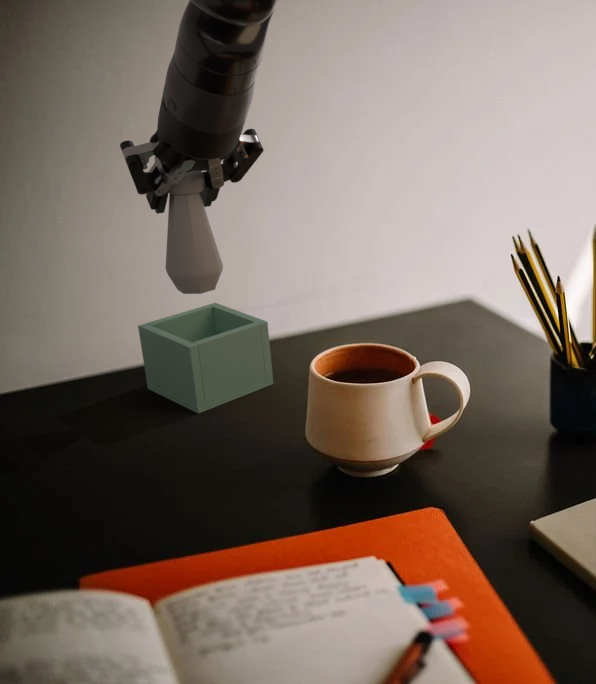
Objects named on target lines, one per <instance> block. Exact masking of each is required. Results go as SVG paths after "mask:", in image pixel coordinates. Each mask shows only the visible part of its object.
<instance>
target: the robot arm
mask: <svg viewBox="0 0 596 684" xmlns="http://www.w3.org/2000/svg"><path fill="white" fill-rule="evenodd" d="M278 2H279V0H189V1H188V2H187V5H186V7H185V9H184V11H183V13H182V16H181V19H180V22H179V27H178V32H177V37H176V40H175V46H174V51H173V54H172V57H171V59H170V61H169V63H168V66H167V70H166V76H165V80H164V86H163V90H162V97H161V101H160V105H159V106H160V107H159V112H158V117H157V126H156V127H157V128H156V131H155V132H154V133H153V134H152V135H151V137H150V138H149V141H148V142H145V143H141V144H138V145H134V141H132V140H123V141H121V143H120V144H119V147H120V150H121V152H122V155H123V158H124V160H125V163H126V166H127V168H128V171H129V174H130V176H131V178H132V181H133V183H134V184H133V185H134V186H135V190H136V192H137V194H138V195H142V196H143V195H145V197H146V200H147V203H148V206H149V208H150V209H151V211H153V210H154V211H155V213H156V214H157V215H158V214H164V213H165V212H166V206H167V203H168V199H169V193H168V190H169V189H170V187H171V186H172V185H173V184H178V183H179V181H180V180H181V179H182V177H183V176H184V174H185V173H187V172H191V171H202V172H203V174H204V177H205V183H206V187H205V189H204V190H203V191H201V192H200V194H201V197H202V200H203V204H204V207H205V208H208V207H212V203H213V202H215V201H216V200H217V199H218V196H219V193H220V190H221V188H222V187H224V185H225V182H226V183H227V182H228V181H230V182H231V183H235V184H236V183H239V182H241V181H242V180H243V178H244V177H245V176H246V174H247V173H248V172H249V171H250V169H251V168H252V166H254V164H255V163H256V162H257V160H258V158H260V157H261V155H262V154H263V153H264V151H265V150H264V147H263V145H262V143H261V141H260V138H259V136H258V134H257V132H256V129H254V128H248V129H246V130H245V131H244V132H243V130H244V126H245V123H246V120H247V117H248V114H249V110H250V107H251V105H252V102H253V98H254V93H255V84H256V78H257V75H258V72H259V70H260V66H261V63H262V58H263V57H264V56H263V55H264V51H265V46H266V41H267V36H268V32H269V27H270V24H271V20H272V18H273V16H274V13H275V10H276V8H277V6H278ZM242 132H243V133H242ZM153 156H154V163H153V165H152V166H151V167H150V169H149V170H148V171H144V170H147V169H148V164H149V162H150V158H152V157H153Z"/></svg>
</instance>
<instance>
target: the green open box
mask: <svg viewBox="0 0 596 684" xmlns="http://www.w3.org/2000/svg"><path fill="white" fill-rule="evenodd" d="M137 328H138V333H139V341H140V347H141V354H142V360H143V368H144V373H145V379H146V380H145V381H146V386H147V390H150V391H151V392H153V393H155V394H157V395H160V396H162V397H164V398H166V399H168V400H169V401H171V402H174V403H176V404H178V405H180V406H181V407H184V408H186V409H188V410H190V411H192V412H194V413H196V414H199V415H200V414H201V413H205V412H207V411H209V410H212V409H215V408H217V407H219V406H222V405H224V404H227V403H230V402H232V401H234V400H238V399H239V398H242V397H244V396H247V395H250V394H253V393H255V392H257V391H261V390H262V389H265V388H267V387H271V386H273V385H274V375H273V374H274V373H273V365H272V356H271V355H272V354H271V353H272V352H271V344H270V333H269V321H267V320H263V319H262V318H258V317H256V316H253V315H250V314H247V313H245V312H242V311H240V310H237V309H234V308H231V307H228V306H226V305H223V304H220V303H218V302H213V303H210V304H206V305H203V306H200V307H196V308H193V309H190V310H189V309H188V310H186V311H182V312H179V313H176V314H172V315H169V316H165V317H162V318H158V319H155V320H152V321H149V322H146V323H142V324H138V325H137Z"/></svg>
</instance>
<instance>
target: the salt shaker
mask: <svg viewBox="0 0 596 684" xmlns="http://www.w3.org/2000/svg"><path fill="white" fill-rule="evenodd" d="M203 172H204V171H191V172H187V173H185V174H184V176H183V177H182V179H181V180H180V181H179V183H178V184H173V185H172V186H171V187H170V189H169V190H168V216H167V232H166V233H167V235H166V236H167V237H166V253H165V254H166V255H165V271H166V274H167V276H168V278H169V279H170V280H171V282H172V284H173V285H174V287H175V288H176V290H177V291H178V292H180V293H181V294H183V295H201V294H204V293H208V292H211V291H215V290H216V289H217V288H216V287H217V285H218V282H219V280H220V277H221V275H222V272H223V267H224V265H223V261H222V259H221V255H220V252H219V248H218V246H217V243H216V240H215V237H214V234H213V230H212V227H211V225H210V221H209V218H208V214H207V210H206V207H204V204H203V200H202V197H201V194H200V192H201V191H203V190H204V189H205V187H206V183H205V177H204V174H203Z"/></svg>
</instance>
